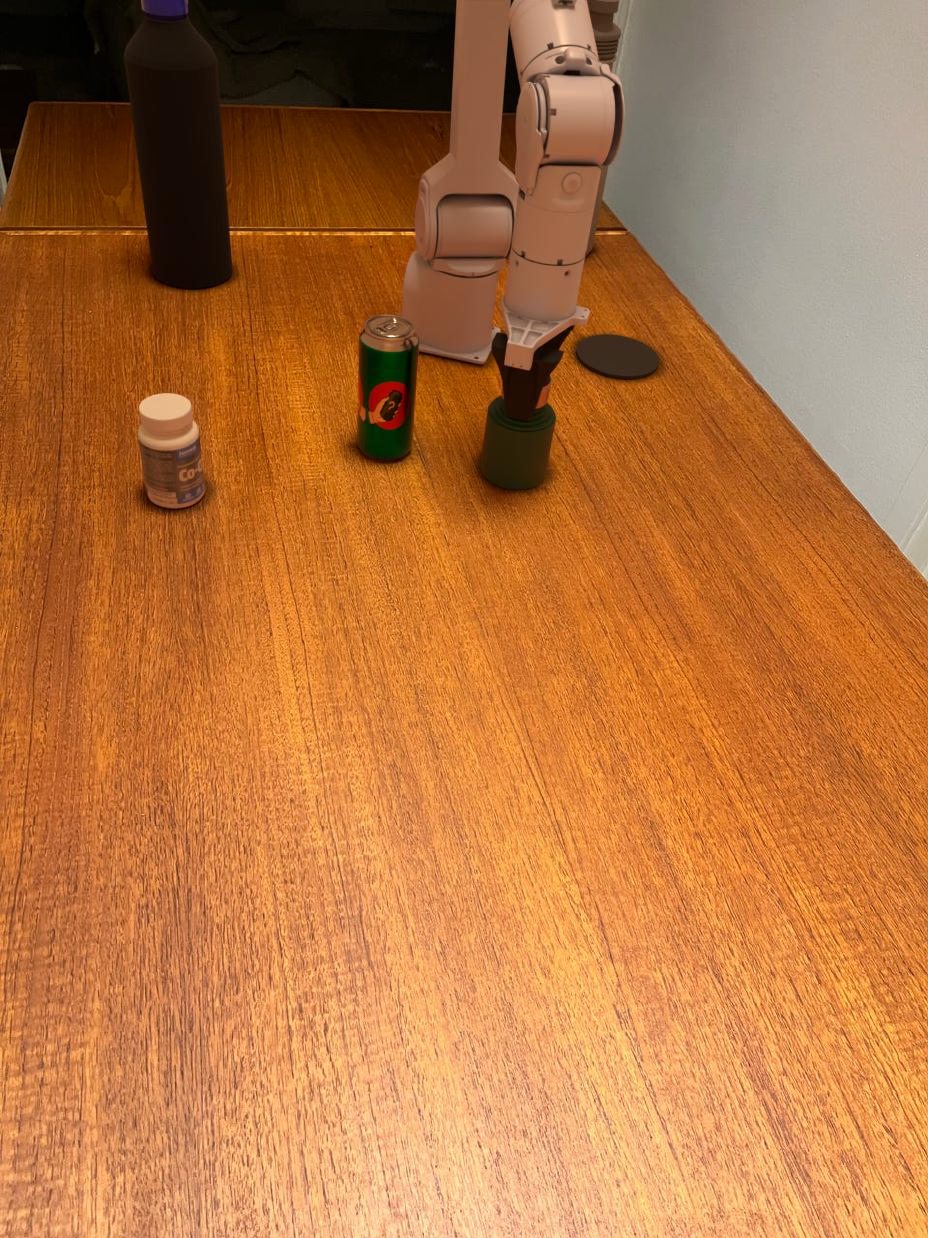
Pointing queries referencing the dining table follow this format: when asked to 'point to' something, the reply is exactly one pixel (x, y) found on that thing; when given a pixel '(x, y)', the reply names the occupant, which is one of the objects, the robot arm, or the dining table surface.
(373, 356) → the soda can
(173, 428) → the pill bottle
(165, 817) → the dining table surface
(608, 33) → the water bottle
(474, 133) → the robot arm
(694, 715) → the dining table surface
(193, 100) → the bottle
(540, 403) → the cap
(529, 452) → the green bottle
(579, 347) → the coaster
